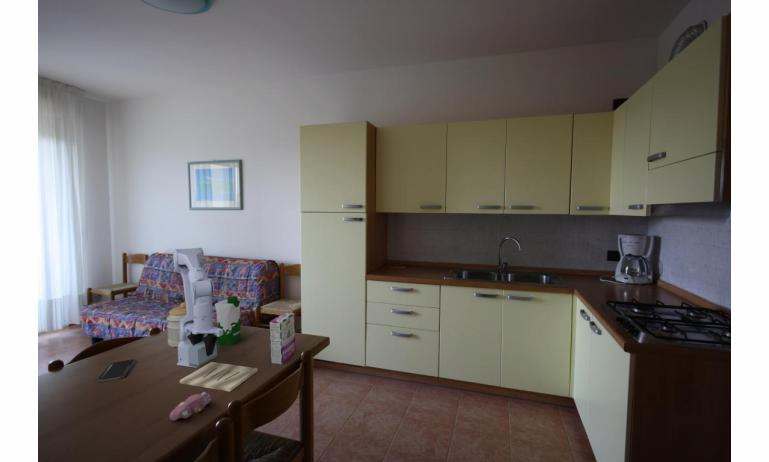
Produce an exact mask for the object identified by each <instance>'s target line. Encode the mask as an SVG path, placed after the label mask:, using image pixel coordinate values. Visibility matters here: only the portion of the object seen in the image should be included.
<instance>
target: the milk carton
mask: <svg viewBox="0 0 769 462" xmlns="http://www.w3.org/2000/svg"><path fill="white" fill-rule="evenodd" d="M241 305H242V299H238V296H234V295H233V296H229V297H227V299H223V300H220V301H219V302H217V303H214V306H215V307H214V308H215V311H216V326H217V328H220V329H223V335H221V336H219V337H218V339H217V341H216V345H220V346H233V345H236V344H237V343H238V342H239V341H241V340H242V333H241V331H242V330H241Z"/></svg>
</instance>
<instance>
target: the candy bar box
mask: <svg viewBox="0 0 769 462" xmlns="http://www.w3.org/2000/svg"><path fill="white" fill-rule="evenodd" d="M295 328H296V327H295V313H292V312H291V313H290V312H283V313H282V314H280V315H278V316H276V317H275V318H274V319H272V320H270V321H269V337H270V360H271V361H270V362H271V363H270V364H273V365H283V364H285V362H287V361H288V360H289V359H290V358H291V357H292V356H293V355H295V354H296V352H297V351H296V334H295V333H296V329H295Z"/></svg>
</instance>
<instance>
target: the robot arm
mask: <svg viewBox="0 0 769 462" xmlns="http://www.w3.org/2000/svg"><path fill="white" fill-rule="evenodd" d="M172 257H173V266H174V267H173V268H174V270H175V273H179V274H180V276H181V278H182V286H183V292H184V294H183V295H184V302H185V303H186V312H187V315H186V316H185V317H184V318H183V319H181V321H180V323H179V333H180V339H181V341H180V343H179V345H178V347H177V359H178V361H177V363H176V366H181V367H188V368H193V369H194V368H198V367H194V366H189V357H188V348H190V347H192V346H194V345H196V344H198V343H200V342H202V341H204V343H205V347H206V355H207V356H210V355H212V354H213V351H214V347H215V344H216V345H217V339H218V337H219V336H221V335H223V329H220V328H217V327H216V325H215V326H214V323H213V321H214V320H213V319H214V318H213V316H214V315H213V297H212V296H214V293H215V286H214V282H213V279H212V278H210V277H208V274H207V271H206V269H204V268H203V264H204V259H205V253H204V249H203V248H202V247H194V248H181V249H180V248H178V249H177V248H175V249H174V250H173V254H172ZM192 322H193V323H192ZM187 323H188V324H187Z"/></svg>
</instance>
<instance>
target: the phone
mask: <svg viewBox="0 0 769 462" xmlns="http://www.w3.org/2000/svg"><path fill="white" fill-rule="evenodd" d="M136 362H137V360H136V359H135V358H133V359H126V360H125V359H124V360H118V361H112V362H111V363H109V364H108V366H107V367H106V369H105V370H104V371H103V372H102V374H100V375H99V377H98V378H97V383H106V382H110V381H116V380H117V381H118V380H123V379H125V378H126V377H127V376H128V374H129V373H130V371H131V369H132V368H133V366H134V365H135V363H136Z"/></svg>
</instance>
